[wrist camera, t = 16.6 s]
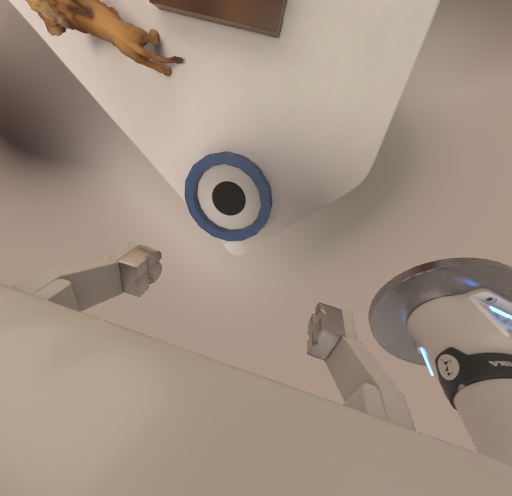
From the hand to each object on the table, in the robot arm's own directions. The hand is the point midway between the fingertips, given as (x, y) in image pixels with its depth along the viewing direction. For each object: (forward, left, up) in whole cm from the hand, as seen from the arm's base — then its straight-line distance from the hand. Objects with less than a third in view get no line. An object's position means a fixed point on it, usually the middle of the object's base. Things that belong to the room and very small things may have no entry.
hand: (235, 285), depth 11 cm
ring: (+9, +7, -28) cm, 30 cm away
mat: (+9, +7, -28) cm, 30 cm away
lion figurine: (+26, -11, -28) cm, 40 cm away
